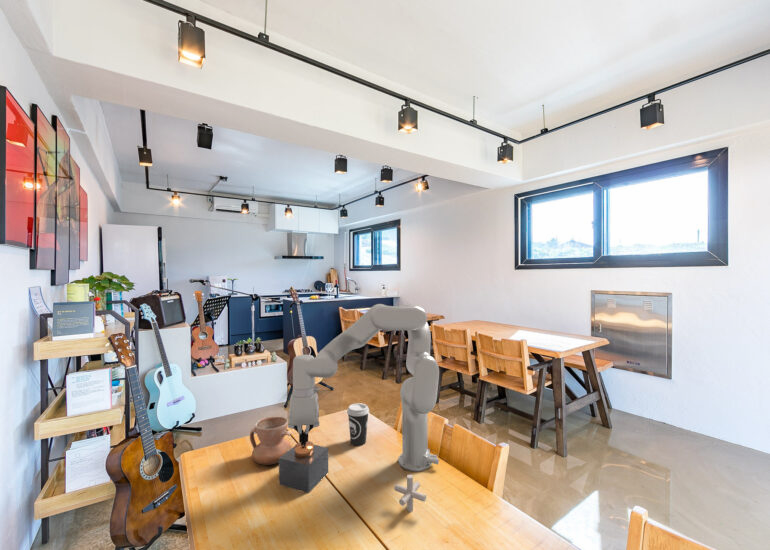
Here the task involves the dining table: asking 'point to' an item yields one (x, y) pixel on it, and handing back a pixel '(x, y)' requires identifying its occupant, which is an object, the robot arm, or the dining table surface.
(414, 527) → the dining table surface
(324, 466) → the hitch block
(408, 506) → the light grey toy jack
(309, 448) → the copper pin
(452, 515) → the dining table surface
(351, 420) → the coffee cup
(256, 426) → the ceramic jug
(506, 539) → the dining table surface
